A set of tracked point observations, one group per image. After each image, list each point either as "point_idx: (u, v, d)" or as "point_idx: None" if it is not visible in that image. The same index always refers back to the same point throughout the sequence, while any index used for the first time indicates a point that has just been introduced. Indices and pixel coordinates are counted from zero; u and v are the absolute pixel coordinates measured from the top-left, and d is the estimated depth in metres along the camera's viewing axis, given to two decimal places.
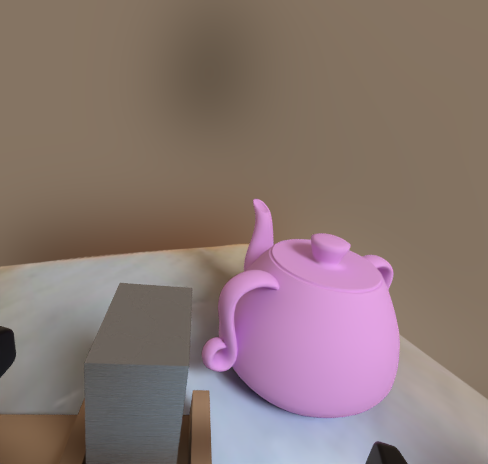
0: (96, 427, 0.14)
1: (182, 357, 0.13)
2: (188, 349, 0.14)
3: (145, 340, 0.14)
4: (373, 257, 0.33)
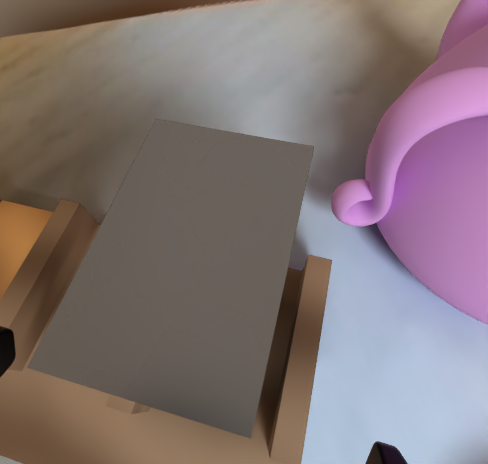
0: None
1: (242, 399, 0.05)
2: (262, 372, 0.05)
3: (166, 317, 0.06)
4: None
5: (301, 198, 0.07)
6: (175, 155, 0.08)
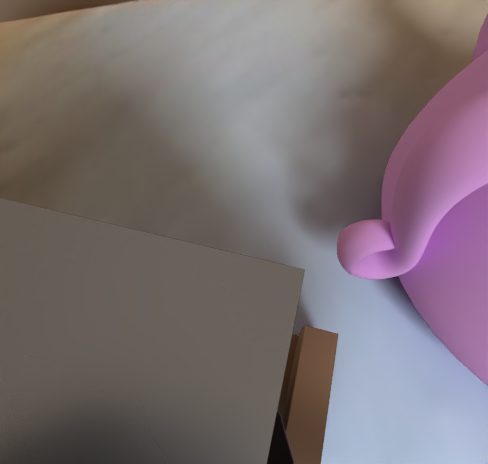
0: None
1: None
2: None
3: None
4: None
5: (263, 461, 0.02)
6: None
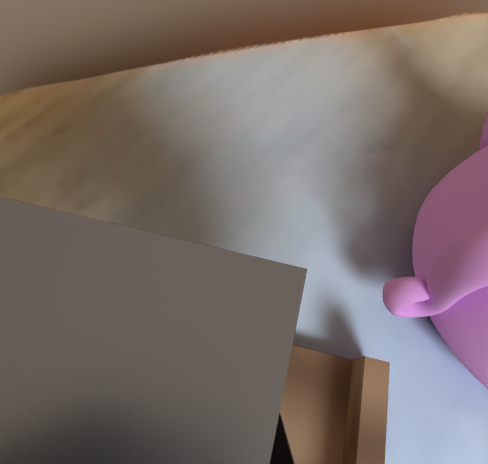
0: None
1: None
2: None
3: None
4: None
5: (265, 460, 0.02)
6: None
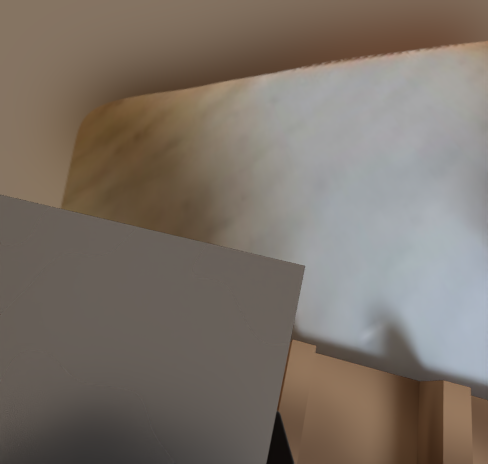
0: None
1: None
2: None
3: None
4: None
5: (263, 455, 0.02)
6: None
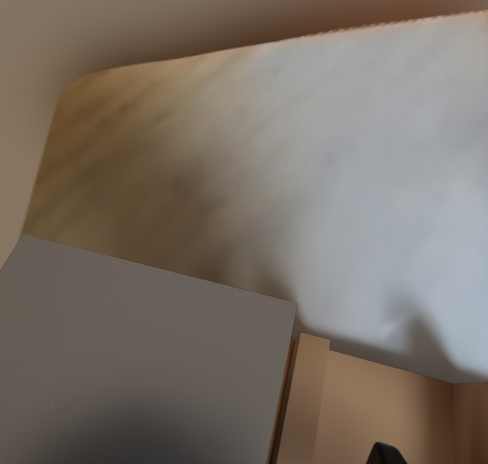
0: None
1: None
2: None
3: None
4: None
5: (268, 437, 0.03)
6: (41, 317, 0.04)
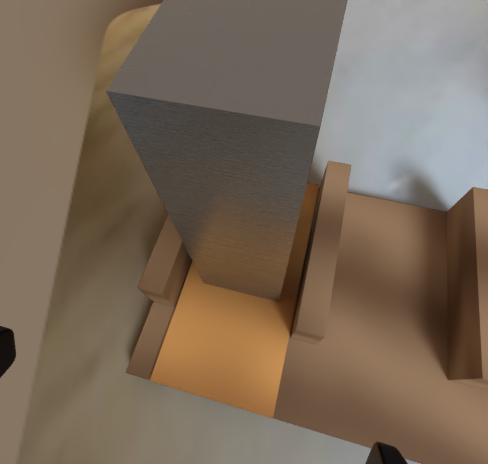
0: (172, 196, 0.09)
1: (308, 103, 0.06)
2: (325, 87, 0.06)
3: (232, 56, 0.06)
4: None
5: None
6: None
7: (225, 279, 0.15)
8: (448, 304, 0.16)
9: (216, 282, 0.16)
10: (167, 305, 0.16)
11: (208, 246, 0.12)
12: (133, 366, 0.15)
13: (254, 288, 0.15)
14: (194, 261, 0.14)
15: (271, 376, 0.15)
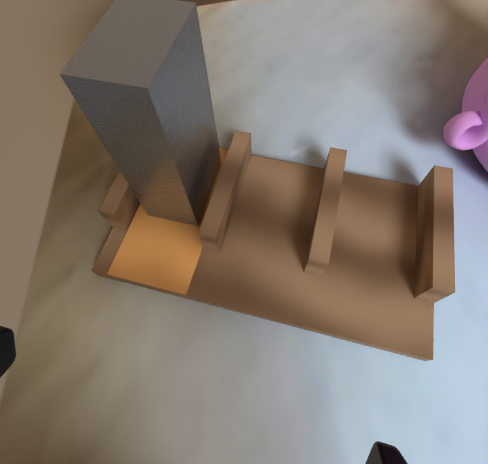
0: (104, 135, 0.16)
1: (145, 79, 0.13)
2: (155, 72, 0.13)
3: (118, 58, 0.14)
4: None
5: (184, 21, 0.15)
6: (128, 7, 0.15)
7: (158, 207, 0.22)
8: (313, 227, 0.23)
9: (154, 212, 0.23)
10: (122, 229, 0.24)
11: (136, 175, 0.19)
12: (96, 266, 0.23)
13: (177, 213, 0.23)
14: (134, 191, 0.21)
15: (188, 271, 0.22)
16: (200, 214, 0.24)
